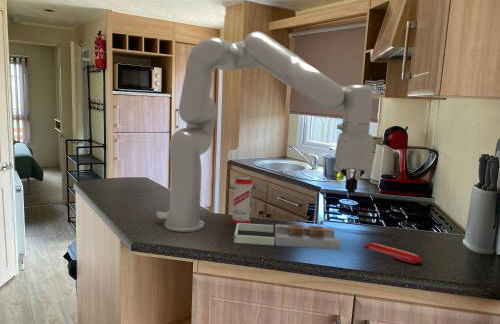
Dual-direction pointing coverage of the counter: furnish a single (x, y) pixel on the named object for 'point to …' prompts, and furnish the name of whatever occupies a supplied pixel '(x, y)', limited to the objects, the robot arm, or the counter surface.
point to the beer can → (242, 200)
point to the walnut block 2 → (316, 231)
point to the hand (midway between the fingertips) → (350, 192)
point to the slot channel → (306, 238)
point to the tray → (254, 238)
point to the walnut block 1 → (296, 230)
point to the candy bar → (394, 253)
